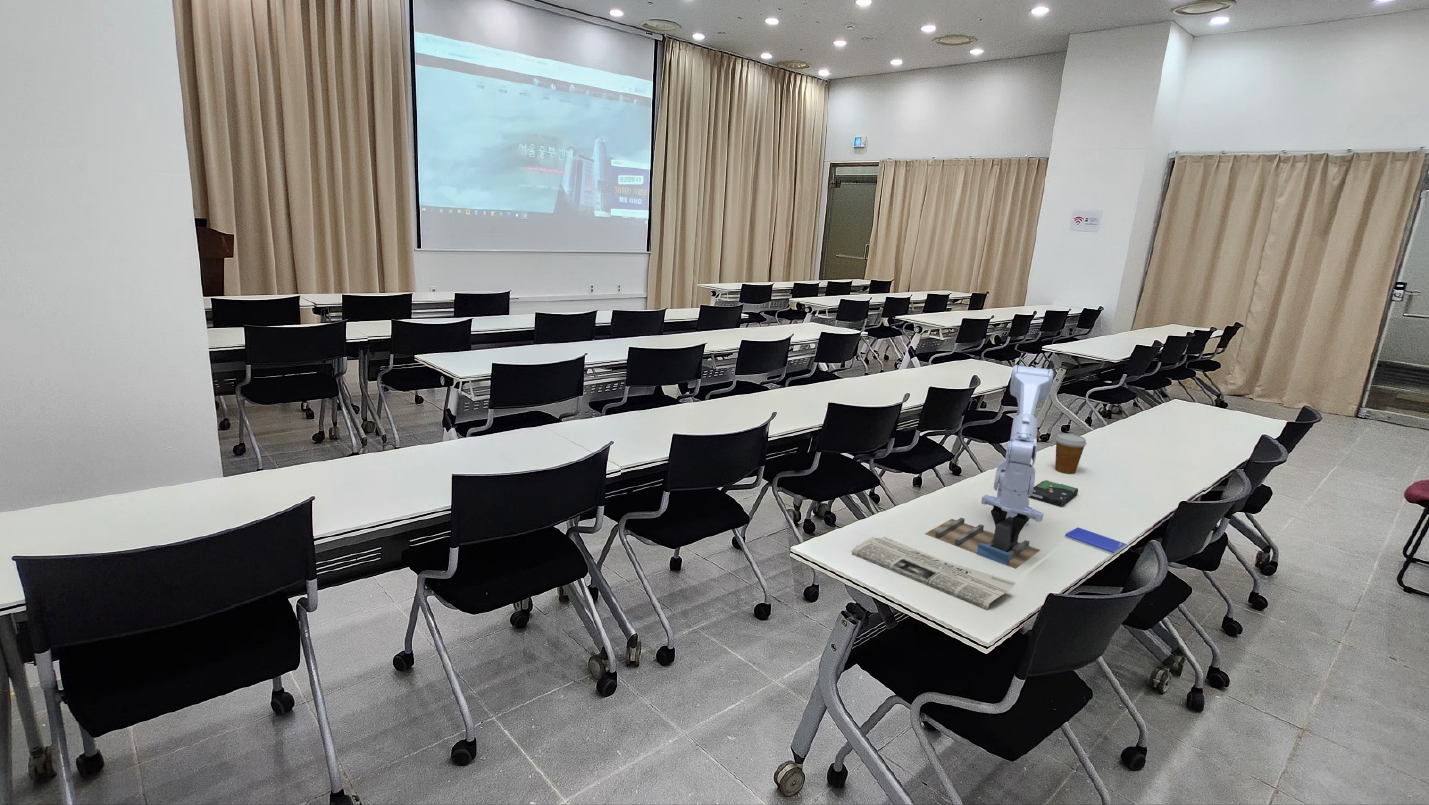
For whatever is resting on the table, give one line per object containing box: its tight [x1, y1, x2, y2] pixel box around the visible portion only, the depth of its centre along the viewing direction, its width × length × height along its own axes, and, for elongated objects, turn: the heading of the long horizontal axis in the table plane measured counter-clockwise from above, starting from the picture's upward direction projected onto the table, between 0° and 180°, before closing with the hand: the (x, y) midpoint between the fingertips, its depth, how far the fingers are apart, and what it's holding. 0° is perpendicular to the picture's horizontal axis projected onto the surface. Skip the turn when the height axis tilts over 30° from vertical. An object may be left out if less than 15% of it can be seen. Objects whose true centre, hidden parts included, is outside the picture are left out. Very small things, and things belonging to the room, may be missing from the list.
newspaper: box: [851, 536, 1016, 611], centre depth 164 cm, size 35×12×4 cm, turn 47°
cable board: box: [924, 517, 1041, 569], centre depth 180 cm, size 15×24×3 cm, turn 45°
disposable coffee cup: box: [1054, 432, 1087, 475], centre depth 238 cm, size 10×10×12 cm
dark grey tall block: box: [992, 517, 1020, 553], centre depth 174 cm, size 8×3×7 cm, turn 135°
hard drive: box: [1064, 526, 1128, 556], centre depth 185 cm, size 2×8×12 cm
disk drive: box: [1028, 479, 1079, 508], centre depth 215 cm, size 10×3×15 cm
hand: (1006, 538), depth 175 cm, fingers closed on dark grey tall block, 3 cm apart
